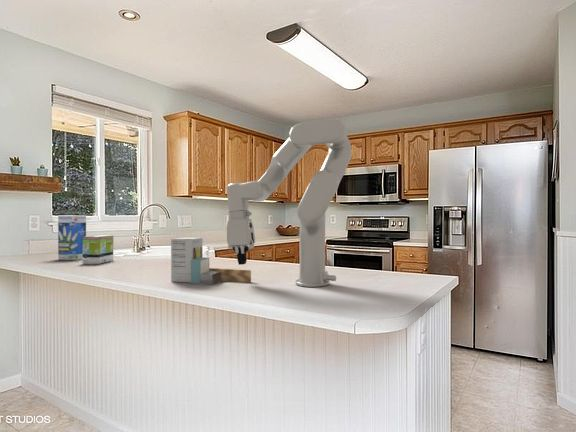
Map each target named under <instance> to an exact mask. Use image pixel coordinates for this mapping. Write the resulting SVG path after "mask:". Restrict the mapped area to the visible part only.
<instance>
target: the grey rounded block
mask: <svg viewBox="0 0 576 432" xmlns="http://www.w3.org/2000/svg"><path fill="white" fill-rule="evenodd" d="M221 281H222V280H221V271H208V272H205V273H202V274H200V284H199V285H207V286H208V285H210V286H212V285H215V284H217V283H220V282H221Z"/></svg>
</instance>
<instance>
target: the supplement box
mask: <svg viewBox="0 0 576 432" xmlns="http://www.w3.org/2000/svg"><path fill="white" fill-rule="evenodd" d="M170 240H171V241H170V262H171V263H170V264H171V265H170V276H171V277H170V279H171V280H170V281H171V283H172V282H173V283H174V282H176V283H191V260H192V259H196V258H200V257H203V256H204V255H203V237H179V238H178V237H177V238H171V239H170ZM203 258H204V257H203Z"/></svg>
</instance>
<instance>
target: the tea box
mask: <svg viewBox="0 0 576 432" xmlns="http://www.w3.org/2000/svg"><path fill="white" fill-rule="evenodd" d="M81 260H82V264H84V265H100V264H103V263H108V262H113V261H114V235H110V234H105V235H104V234H103V235H101V234H99V235H96V234H95V235H86V236H84V237H83V257H82V259H81Z"/></svg>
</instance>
